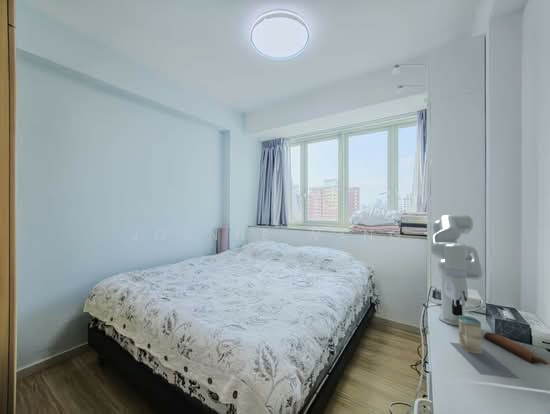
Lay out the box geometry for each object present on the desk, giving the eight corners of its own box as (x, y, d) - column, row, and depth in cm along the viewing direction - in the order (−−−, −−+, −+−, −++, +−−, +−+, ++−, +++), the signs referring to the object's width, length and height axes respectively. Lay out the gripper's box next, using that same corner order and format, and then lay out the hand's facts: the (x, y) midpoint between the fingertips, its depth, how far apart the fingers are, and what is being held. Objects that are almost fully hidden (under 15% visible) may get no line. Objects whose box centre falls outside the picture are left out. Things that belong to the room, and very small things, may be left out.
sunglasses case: (553, 364, 83) (543, 348, 83) (538, 375, 82) (529, 359, 82) (501, 338, 101) (493, 325, 101) (489, 347, 100) (481, 334, 100)
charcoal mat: (449, 343, 97) (449, 342, 97) (480, 347, 94) (480, 345, 94) (480, 375, 77) (480, 373, 77) (520, 380, 75) (519, 378, 75)
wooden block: (459, 345, 94) (458, 315, 95) (474, 346, 93) (472, 316, 94) (466, 352, 90) (465, 320, 90) (482, 353, 88) (480, 322, 89)
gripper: (438, 268, 110) (439, 307, 108) (454, 275, 95) (456, 321, 94) (456, 269, 108) (457, 309, 107) (476, 276, 93) (478, 323, 92)
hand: (457, 314), depth 100 cm, fingers closed
